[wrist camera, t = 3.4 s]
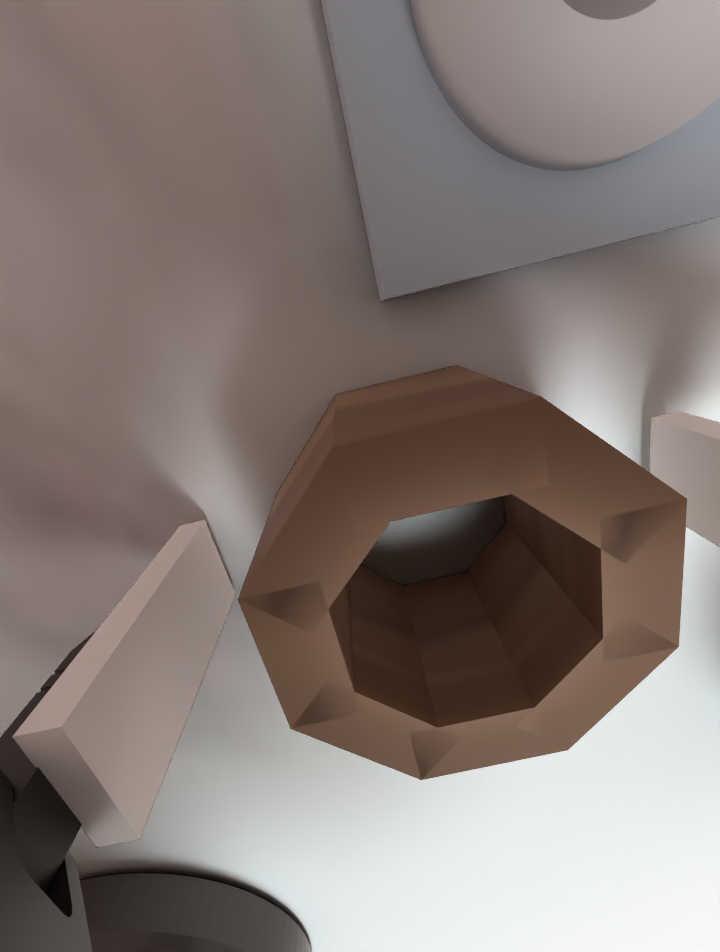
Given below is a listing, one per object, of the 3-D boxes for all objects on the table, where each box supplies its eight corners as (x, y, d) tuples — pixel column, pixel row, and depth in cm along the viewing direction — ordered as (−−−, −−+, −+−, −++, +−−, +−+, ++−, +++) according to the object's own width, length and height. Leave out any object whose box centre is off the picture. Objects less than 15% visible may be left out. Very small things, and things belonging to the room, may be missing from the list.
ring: (326, 640, 14) (320, 800, 9) (251, 415, 11) (188, 481, 7) (560, 589, 14) (673, 728, 9) (543, 344, 11) (696, 360, 6)
